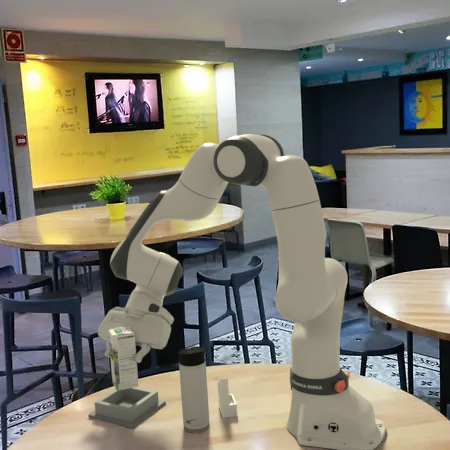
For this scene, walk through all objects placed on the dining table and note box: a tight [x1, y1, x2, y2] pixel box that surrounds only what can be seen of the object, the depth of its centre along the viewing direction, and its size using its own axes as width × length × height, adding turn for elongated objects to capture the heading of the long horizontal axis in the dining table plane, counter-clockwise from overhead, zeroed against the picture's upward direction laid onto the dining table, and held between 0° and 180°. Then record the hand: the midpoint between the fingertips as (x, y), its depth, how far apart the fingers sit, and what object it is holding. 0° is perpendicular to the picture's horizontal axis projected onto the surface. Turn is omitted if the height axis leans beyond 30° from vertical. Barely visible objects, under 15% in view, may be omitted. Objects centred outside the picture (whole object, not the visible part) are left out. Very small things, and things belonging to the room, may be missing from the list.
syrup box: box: [109, 327, 139, 391], centre depth 149 cm, size 6×6×14 cm
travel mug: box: [178, 346, 211, 434], centre depth 140 cm, size 6×7×20 cm
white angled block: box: [217, 378, 238, 419], centre depth 147 cm, size 4×10×9 cm, turn 10°
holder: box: [87, 386, 167, 430], centre depth 151 cm, size 14×14×4 cm
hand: (121, 359), depth 149 cm, fingers closed on syrup box, 8 cm apart
